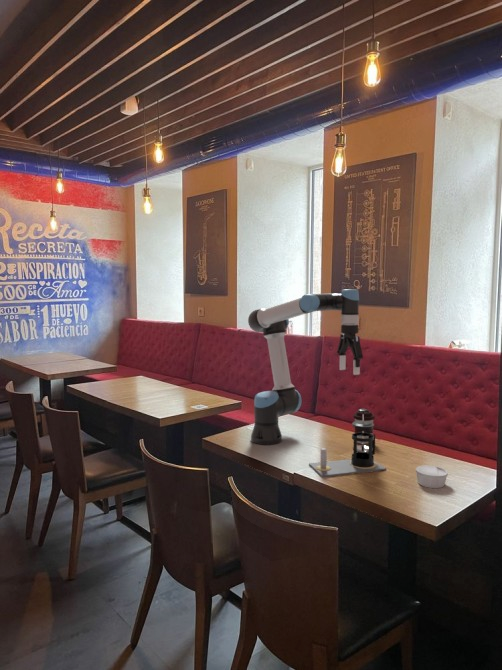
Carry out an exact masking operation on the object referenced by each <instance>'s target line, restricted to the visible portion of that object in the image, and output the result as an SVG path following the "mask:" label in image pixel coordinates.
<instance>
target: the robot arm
mask: <svg viewBox="0 0 502 670" xmlns="http://www.w3.org/2000/svg"><path fill="white" fill-rule="evenodd" d="M340 292H341V293H329V292H328V293H327V292H326V293H307V294H304V295H302V297H300V298H295V299H292V300H290V301H287V302H283V303H281V304H278V305H274V306H272V307H269V308H265V307H263V308H258V309H254V310H253V311H252V312H251V313H250V314H249V315H248V319H247V321H248V325H249V327H250V329H251V330H253V332H256V333H262V335H263V338H265V339H266V340H267V341H266V342H267V347H268V353H269V359H270V366H271V373H272V379H273V385H274V386H273V387H272V390H266V391H261V392H258V393H256V394H255V396H254V400H253V401H254V402H253V407H254V408H253V411H254V425H253V428H252V431H251V436H250V441H251V442H252V443H254V444H257V445H264V446H267V445H276V444H280V443H281V442H283V435H282V432H281V429H280V426H279V417H283V416H286V415H292V414H293V413H294V414H295V413H296V412H298V411H299V410H300V408H301V405H302V396H301V393H299V391H298V390H296V386H295V385H294V384H293V383H292V381H291V374H290V373H291V372H290V368H289V363H288V362H289V361H288V356H287V349H286V343H285V336H286V334H287V330H286V329H288V327H289V323H290V320H289V319H292V318H293V319H294V318H295V317H296V318H297V317H299V316H304V315H306V314H311V313H314V312H322V311H323V312H325V311H327V312H328V311H340V312H341V315H340V316H341V317H340V323H341V326H340V329H341V330H340V333H341V334H339V335H340V336H339V343H338V346H337V349H336V350H337V351H336V354H338V356H339V366H338V367H339V369H338V370H340V371H344V370H347V369H346V367H347V365H346V362H347V357H346V356H347V351H348V348H349V347H350V349H351V352H352V355H353V359H352V360H353V365H352V369H353V371H352V375H354V376H357V375H360V374H361V370H360V369H361V360H362V359H364V356H363V350H362V346H361V341H360V340H361V339H360V336H357V335H356V334H358V333H359V331H360V330H359V328H360V325H359V321H360V320H359V319H360V316H359V312H360V311H359V308H360V307H359V306H360V305H359V304H360V295H359V294H360V292H359V290H358V289H355V288H348V289H346V288H345V289H341V291H340Z"/></svg>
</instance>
